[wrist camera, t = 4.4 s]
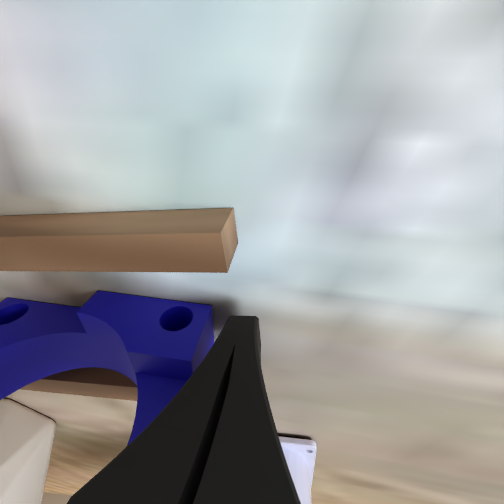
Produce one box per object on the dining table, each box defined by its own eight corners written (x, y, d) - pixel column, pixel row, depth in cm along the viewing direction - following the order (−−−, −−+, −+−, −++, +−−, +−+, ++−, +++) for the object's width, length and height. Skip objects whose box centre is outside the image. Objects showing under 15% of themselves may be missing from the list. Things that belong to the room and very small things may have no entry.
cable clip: (211, 305, 12) (154, 458, 7) (215, 359, 14) (175, 501, 9) (-7, 277, 13) (-199, 391, 8) (31, 332, 15) (-96, 446, 10)
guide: (256, 376, 15) (249, 433, 12) (-27, 355, 18) (-78, 396, 15) (233, 207, 9) (211, 250, 6) (-178, 222, 12) (-300, 253, 10)
